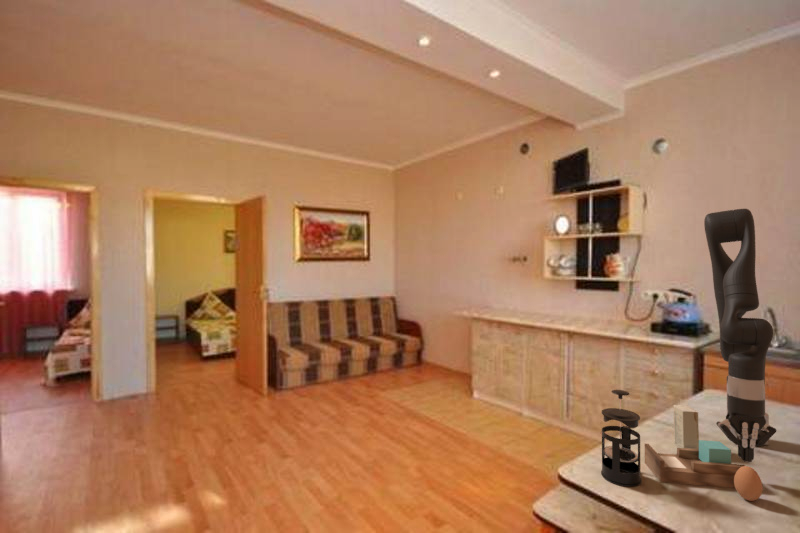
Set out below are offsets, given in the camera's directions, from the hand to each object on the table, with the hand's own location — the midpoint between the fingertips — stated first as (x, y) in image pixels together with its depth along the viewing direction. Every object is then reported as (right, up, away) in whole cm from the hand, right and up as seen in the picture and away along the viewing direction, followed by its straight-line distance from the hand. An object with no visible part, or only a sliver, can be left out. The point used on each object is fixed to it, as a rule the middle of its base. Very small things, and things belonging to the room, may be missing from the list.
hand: (745, 460), depth 105 cm
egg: (-7, -5, -9) cm, 12 cm away
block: (-7, -2, +1) cm, 7 cm away
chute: (-12, -5, +2) cm, 13 cm away
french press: (-31, -6, +2) cm, 32 cm away
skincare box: (-3, -5, +18) cm, 19 cm away
